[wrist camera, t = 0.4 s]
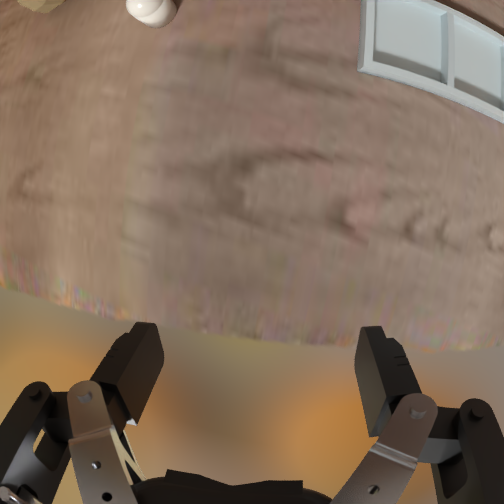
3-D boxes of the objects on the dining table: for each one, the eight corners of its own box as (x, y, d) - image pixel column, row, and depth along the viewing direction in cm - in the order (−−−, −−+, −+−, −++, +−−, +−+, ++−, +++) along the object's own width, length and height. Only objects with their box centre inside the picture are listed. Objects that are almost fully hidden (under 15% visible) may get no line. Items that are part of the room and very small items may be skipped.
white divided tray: (361, -14, 25) (366, -23, 22) (542, 73, 24) (553, 73, 21) (357, 71, 30) (363, 66, 27) (541, 144, 28) (552, 147, 26)
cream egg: (146, 1, 28) (123, -17, 21) (179, -3, 27) (160, -24, 21) (141, 30, 29) (115, 14, 23) (174, 26, 29) (153, 8, 23)
